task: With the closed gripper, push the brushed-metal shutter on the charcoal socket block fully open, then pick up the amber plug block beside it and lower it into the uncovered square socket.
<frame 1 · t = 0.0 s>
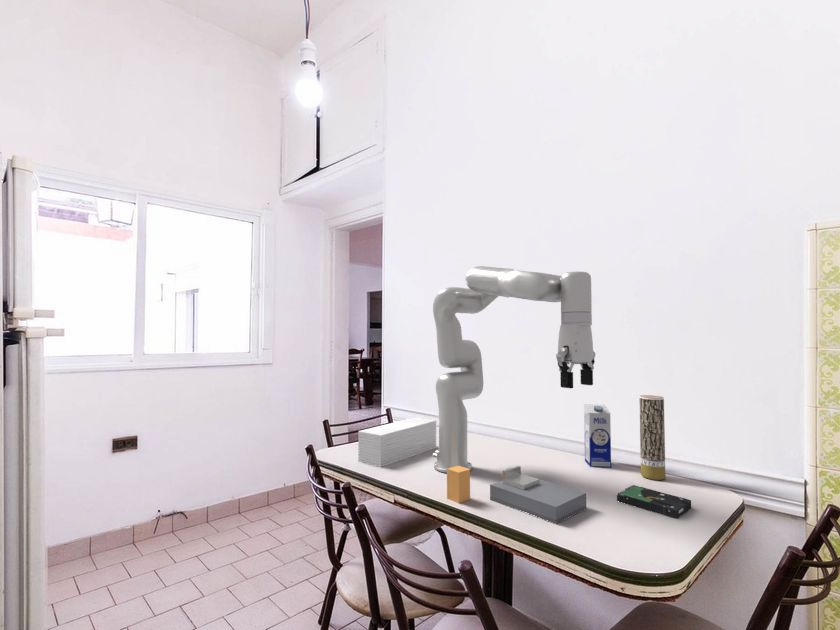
hand: (577, 386, 113), 31 cm above the table, tool pointing down, fingers open, 9 cm apart
socket block: (537, 504, 115), on the table
plug: (458, 498, 119), on the table
paper tube: (653, 477, 137), on the table
stack of papers: (399, 455, 162), on the table
milk carton: (597, 464, 150), on the table
shutter: (521, 477, 119), point 6 cm above the table, slide at 0.0 cm
disk drive: (653, 507, 115), on the table
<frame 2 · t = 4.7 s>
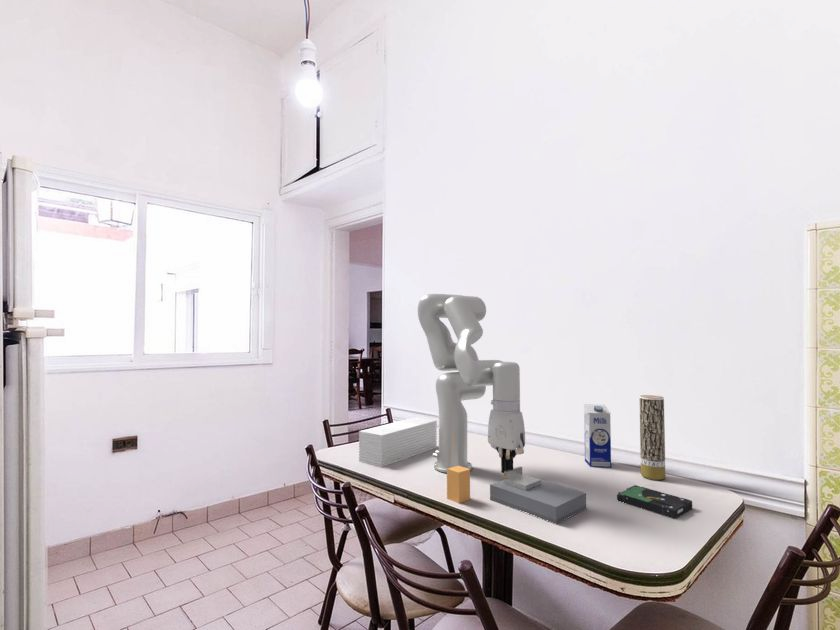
hand: (507, 472, 122), 6 cm above the table, tool pointing down, fingers closed
shutter: (522, 477, 119), point 6 cm above the table, slide at 0.5 cm, touching gripper
everything else where it was.
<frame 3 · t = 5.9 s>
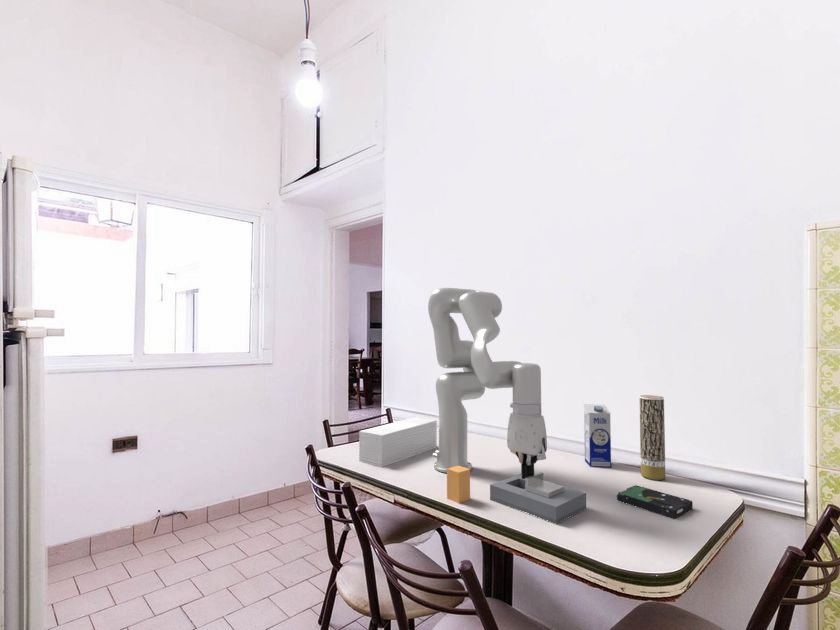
hand: (527, 478, 117), 6 cm above the table, tool pointing down, fingers closed
shutter: (544, 484, 113), point 6 cm above the table, slide at 7.4 cm, touching gripper
everything else where it was.
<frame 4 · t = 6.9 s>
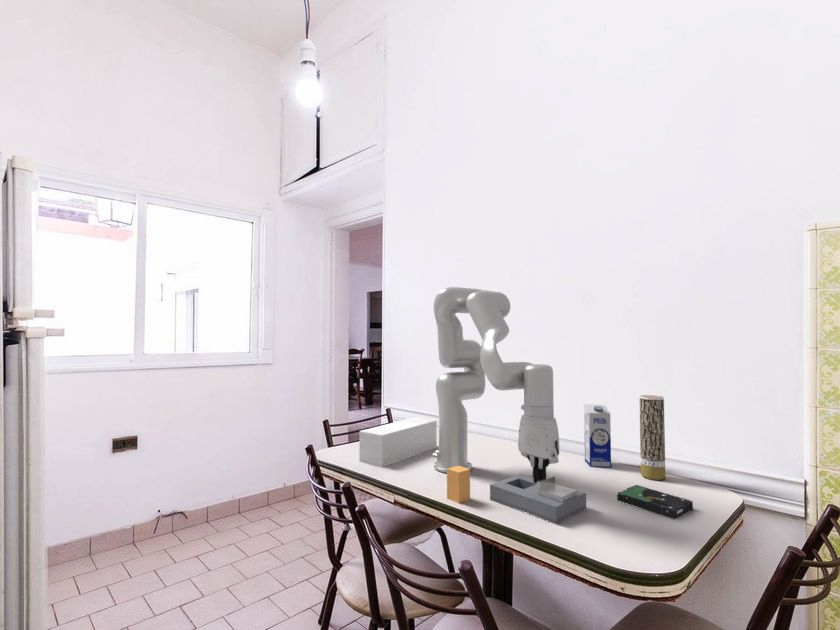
hand: (539, 482, 115), 6 cm above the table, tool pointing down, fingers closed
shutter: (557, 488, 111), point 6 cm above the table, slide at 11.0 cm, touching gripper
everything else where it was.
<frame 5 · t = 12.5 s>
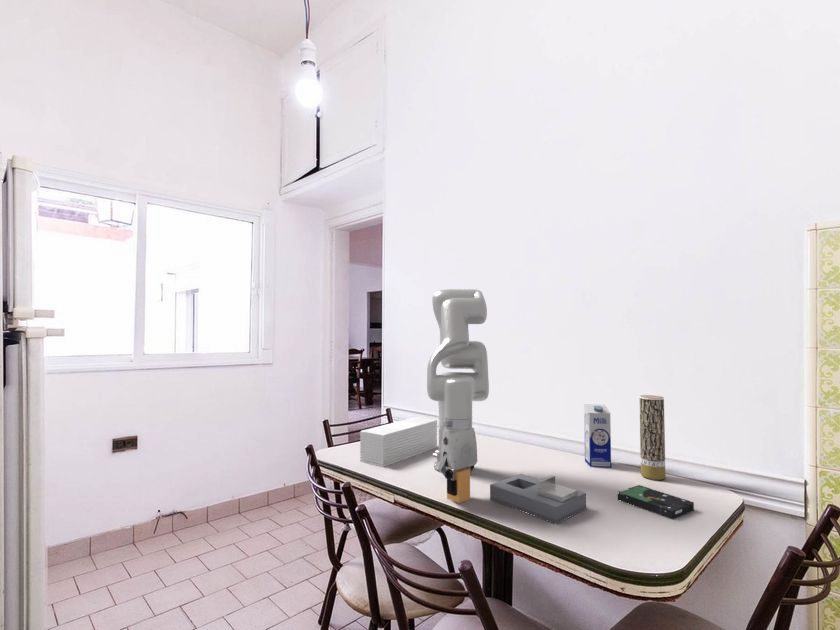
hand: (458, 491, 119), 2 cm above the table, tool pointing down, fingers closed on plug, 4 cm apart
plug: (458, 498, 119), on the table, touching gripper
shutter: (557, 488, 111), point 6 cm above the table, slide at 11.0 cm
everything else where it was.
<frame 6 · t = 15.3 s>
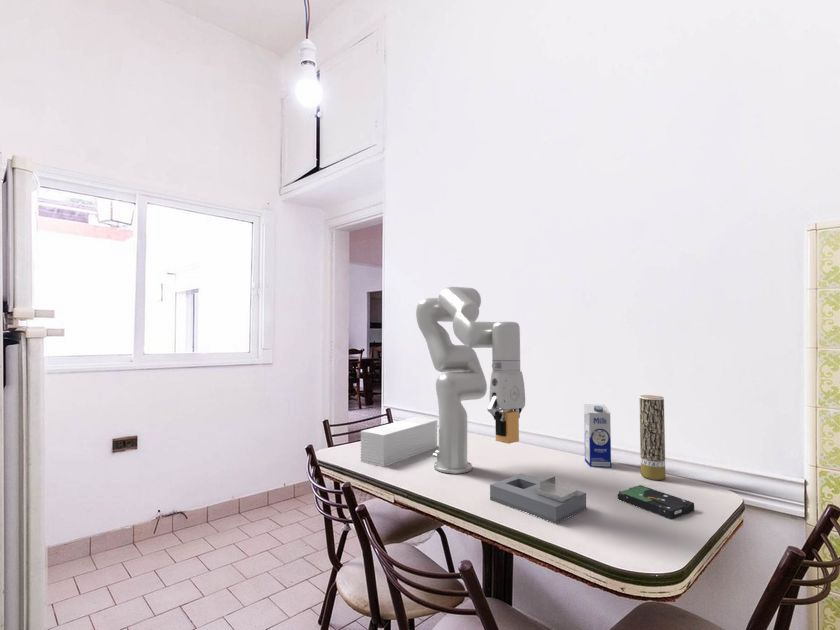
hand: (507, 433, 119), 18 cm above the table, tool pointing down, fingers closed on plug, 4 cm apart
plug: (507, 441, 119), point 16 cm above the table, touching gripper
everything else where it was.
when the fingers open (5 cm above the table, at t = 18.3 s): plug drops 2 cm, resting on socket block.
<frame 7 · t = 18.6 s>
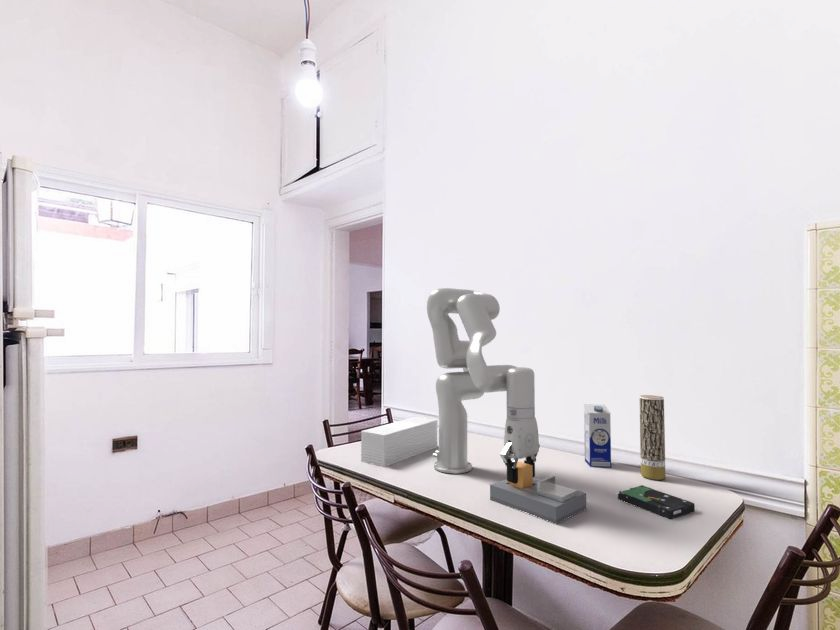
hand: (521, 478, 119), 5 cm above the table, tool pointing down, fingers open, 7 cm apart
plug: (521, 494, 119), point 1 cm above the table, touching socket block
everything else where it was.
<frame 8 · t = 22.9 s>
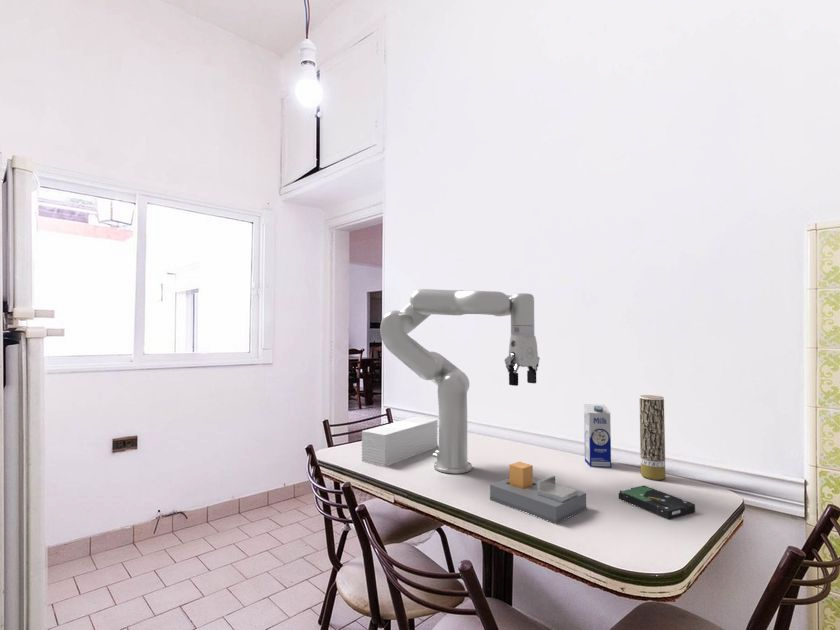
hand: (522, 384, 142), 28 cm above the table, tool pointing down, fingers open, 9 cm apart
at the end: shutter slide at 11.0 cm; plug 0.0 cm from the target spot on the socket block, point 1.0 cm above the socket block's base; plug tilted 0° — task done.
